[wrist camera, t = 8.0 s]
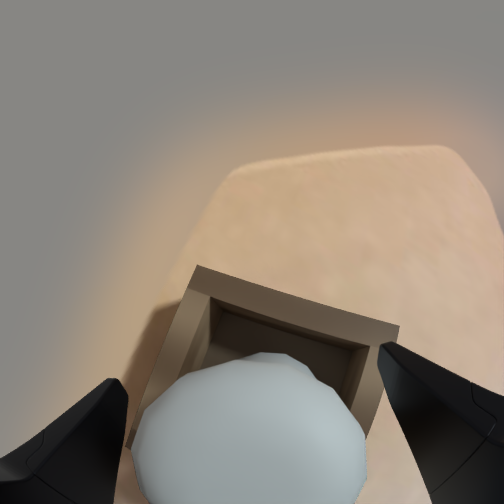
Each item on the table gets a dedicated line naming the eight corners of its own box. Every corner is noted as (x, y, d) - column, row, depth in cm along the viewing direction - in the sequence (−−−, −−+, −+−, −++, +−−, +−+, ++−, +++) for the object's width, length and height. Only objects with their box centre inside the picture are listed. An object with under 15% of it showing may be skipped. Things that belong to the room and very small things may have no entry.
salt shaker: (203, 411, 14) (44, 467, 3) (252, 338, 16) (183, 241, 4) (284, 458, 13) (290, 611, 1) (334, 383, 15) (476, 398, 3)
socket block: (315, 489, 12) (325, 518, 8) (157, 433, 15) (125, 446, 11) (372, 337, 16) (399, 325, 12) (214, 289, 19) (197, 264, 15)
